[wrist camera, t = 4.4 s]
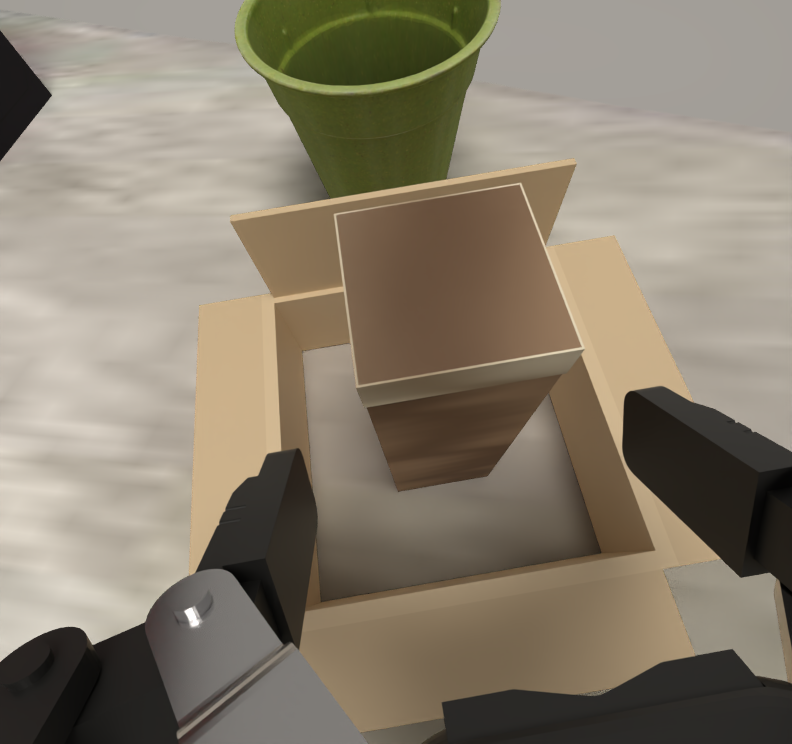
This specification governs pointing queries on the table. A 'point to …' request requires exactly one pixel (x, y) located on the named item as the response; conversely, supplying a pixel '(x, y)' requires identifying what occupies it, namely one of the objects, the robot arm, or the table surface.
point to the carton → (474, 595)
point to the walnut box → (452, 328)
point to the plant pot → (369, 81)
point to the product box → (17, 95)
